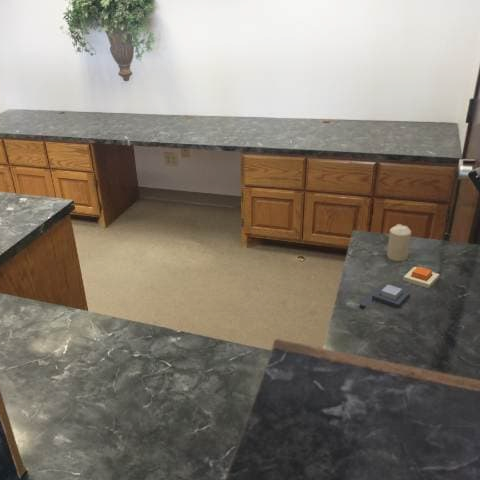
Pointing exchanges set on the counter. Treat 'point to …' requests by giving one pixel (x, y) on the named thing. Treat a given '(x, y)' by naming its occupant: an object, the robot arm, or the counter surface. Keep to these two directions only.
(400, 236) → the candle
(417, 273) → the key
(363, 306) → the keypad
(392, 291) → the key
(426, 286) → the keypad
